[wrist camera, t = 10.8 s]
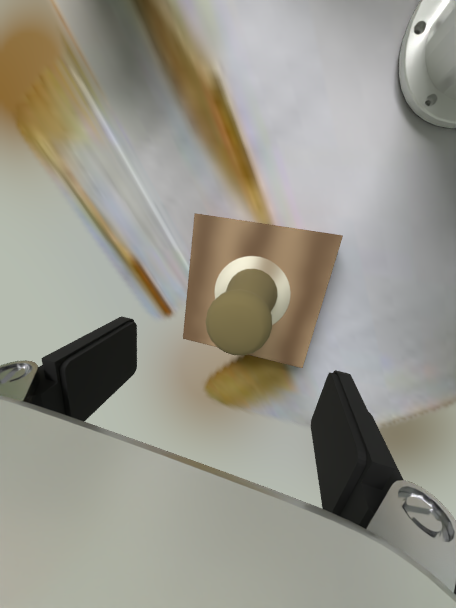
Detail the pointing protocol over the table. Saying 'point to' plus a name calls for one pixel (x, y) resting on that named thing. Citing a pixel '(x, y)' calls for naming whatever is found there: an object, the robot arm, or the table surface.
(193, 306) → the base
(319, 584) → the robot arm
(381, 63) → the table surface
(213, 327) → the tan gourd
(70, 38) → the table surface
